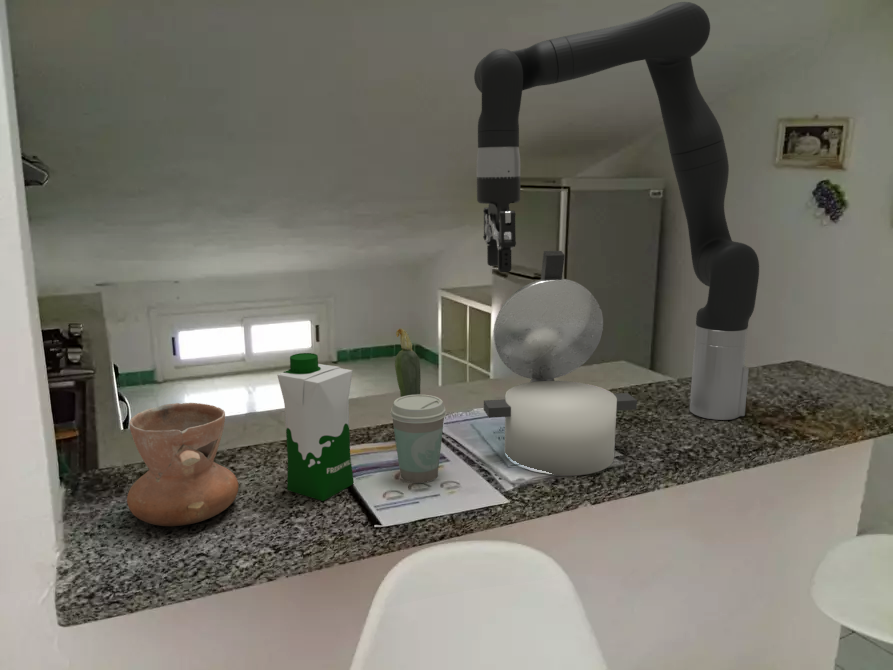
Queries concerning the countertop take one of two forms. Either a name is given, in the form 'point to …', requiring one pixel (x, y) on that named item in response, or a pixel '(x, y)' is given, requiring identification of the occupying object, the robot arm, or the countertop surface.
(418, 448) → the coffee cup
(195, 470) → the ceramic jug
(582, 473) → the cooker pot
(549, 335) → the cooker lid
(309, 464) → the milk carton
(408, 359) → the vegetable
